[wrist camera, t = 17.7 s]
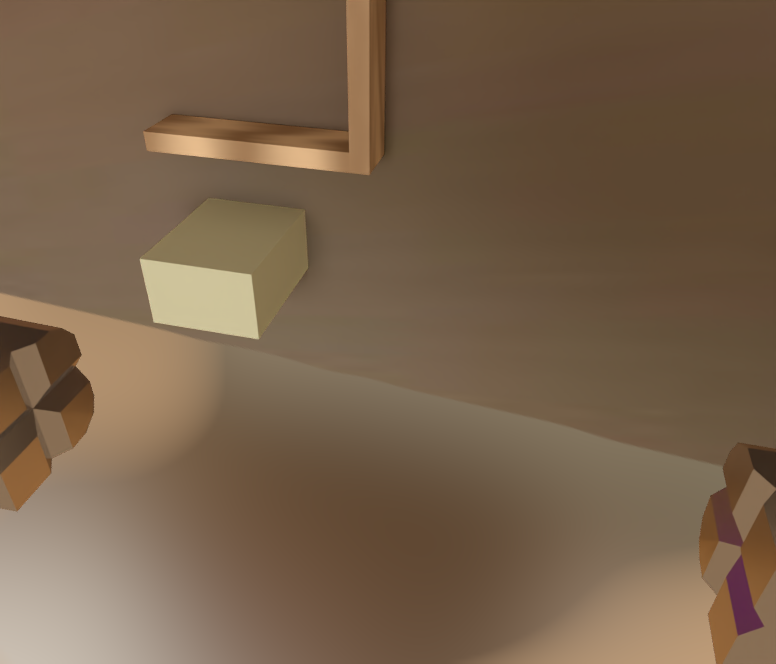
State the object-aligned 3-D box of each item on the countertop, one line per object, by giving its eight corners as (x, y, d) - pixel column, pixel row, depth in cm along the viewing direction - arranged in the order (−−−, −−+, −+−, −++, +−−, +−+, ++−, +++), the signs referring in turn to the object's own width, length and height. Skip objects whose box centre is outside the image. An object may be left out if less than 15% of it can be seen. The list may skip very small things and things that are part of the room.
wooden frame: (387, -129, 33) (369, -128, 30) (384, 153, 41) (369, 174, 39) (129, -134, 36) (90, -134, 33) (175, 132, 44) (147, 150, 41)
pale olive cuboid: (305, 209, 45) (251, 274, 38) (308, 267, 48) (258, 339, 40) (208, 197, 46) (139, 258, 39) (217, 255, 49) (154, 322, 42)
